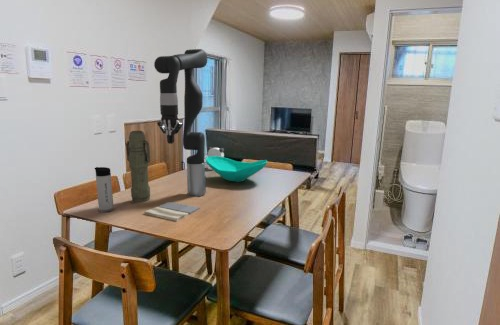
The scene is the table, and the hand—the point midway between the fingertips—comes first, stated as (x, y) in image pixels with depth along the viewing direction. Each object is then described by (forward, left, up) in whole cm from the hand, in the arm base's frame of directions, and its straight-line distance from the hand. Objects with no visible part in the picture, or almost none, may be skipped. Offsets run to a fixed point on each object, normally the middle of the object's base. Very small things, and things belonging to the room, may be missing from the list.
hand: (170, 143), depth 148 cm
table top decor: (-59, +1, -31) cm, 67 cm away
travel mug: (+15, -27, -31) cm, 44 cm away
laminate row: (0, +3, -31) cm, 31 cm away
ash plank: (+9, +3, -31) cm, 32 cm away
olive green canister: (-2, -22, -31) cm, 38 cm away
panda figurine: (-82, -28, -31) cm, 92 cm away
